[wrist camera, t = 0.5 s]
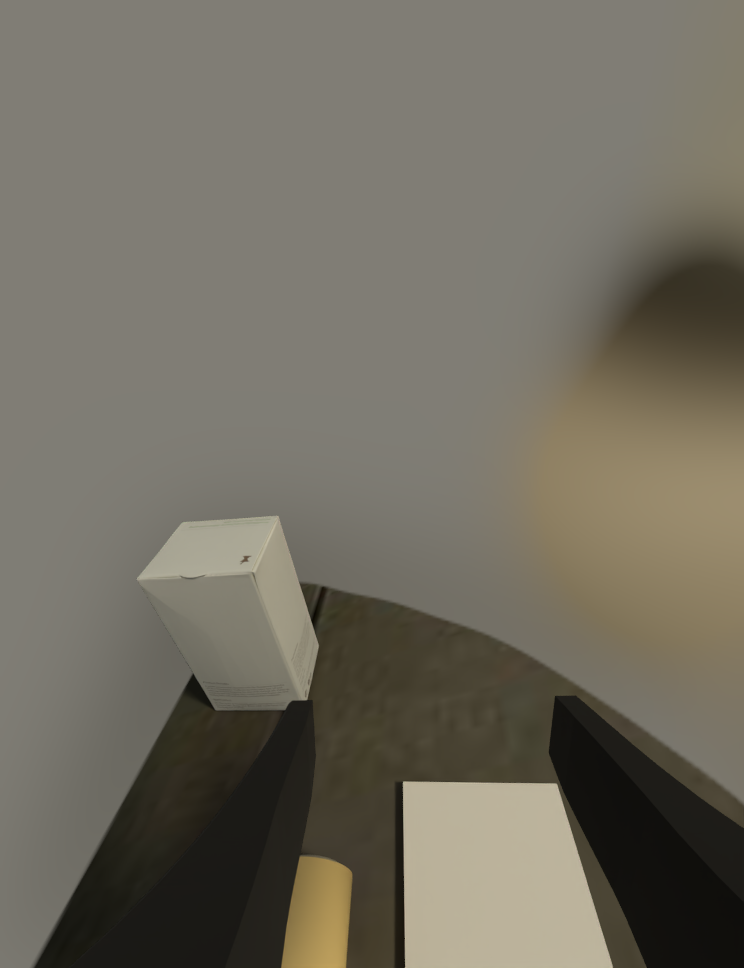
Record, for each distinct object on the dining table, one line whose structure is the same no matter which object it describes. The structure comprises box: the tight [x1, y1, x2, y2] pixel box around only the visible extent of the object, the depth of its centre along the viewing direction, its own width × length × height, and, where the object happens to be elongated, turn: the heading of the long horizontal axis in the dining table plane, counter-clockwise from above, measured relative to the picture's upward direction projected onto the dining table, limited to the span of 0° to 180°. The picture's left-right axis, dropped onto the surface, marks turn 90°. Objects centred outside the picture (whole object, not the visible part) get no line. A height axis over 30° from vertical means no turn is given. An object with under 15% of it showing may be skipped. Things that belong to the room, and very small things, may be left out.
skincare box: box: [137, 516, 319, 710], centre depth 31 cm, size 8×7×16 cm
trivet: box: [403, 782, 613, 968], centre depth 20 cm, size 14×10×1 cm
